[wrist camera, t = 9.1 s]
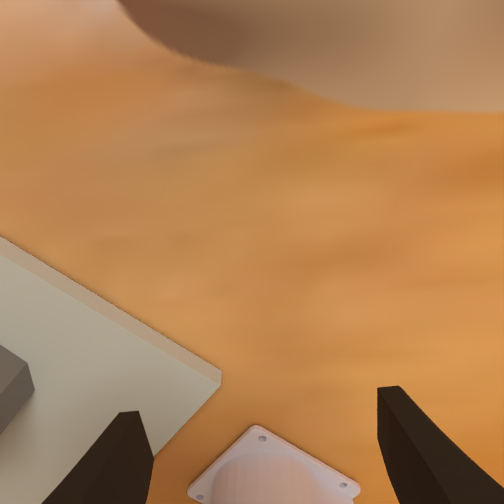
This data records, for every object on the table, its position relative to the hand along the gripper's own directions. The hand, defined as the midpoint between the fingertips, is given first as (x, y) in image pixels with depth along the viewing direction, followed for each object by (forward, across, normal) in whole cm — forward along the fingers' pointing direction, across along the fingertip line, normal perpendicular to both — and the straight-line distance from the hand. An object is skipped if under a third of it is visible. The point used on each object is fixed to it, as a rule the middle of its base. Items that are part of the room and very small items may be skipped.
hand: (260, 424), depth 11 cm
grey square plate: (+9, +15, +6) cm, 19 cm away
